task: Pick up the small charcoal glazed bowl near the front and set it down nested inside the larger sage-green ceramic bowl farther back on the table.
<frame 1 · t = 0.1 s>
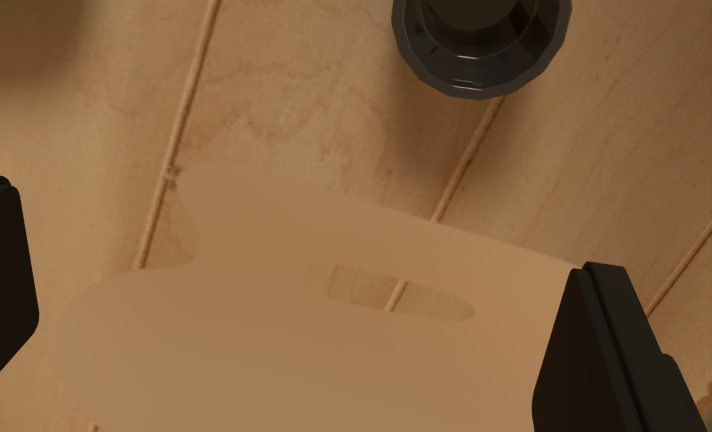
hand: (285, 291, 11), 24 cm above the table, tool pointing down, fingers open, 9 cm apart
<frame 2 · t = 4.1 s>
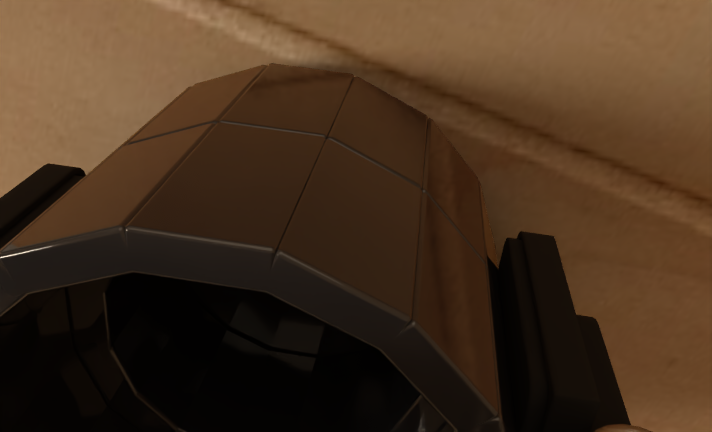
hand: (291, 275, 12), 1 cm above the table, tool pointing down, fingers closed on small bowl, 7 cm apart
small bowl: (304, 238, 13), on the table, touching gripper
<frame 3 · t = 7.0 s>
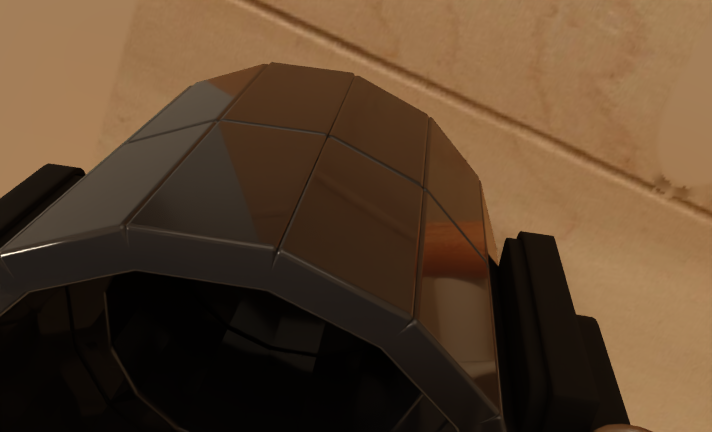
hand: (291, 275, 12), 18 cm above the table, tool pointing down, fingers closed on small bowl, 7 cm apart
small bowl: (305, 238, 13), point 17 cm above the table, touching gripper
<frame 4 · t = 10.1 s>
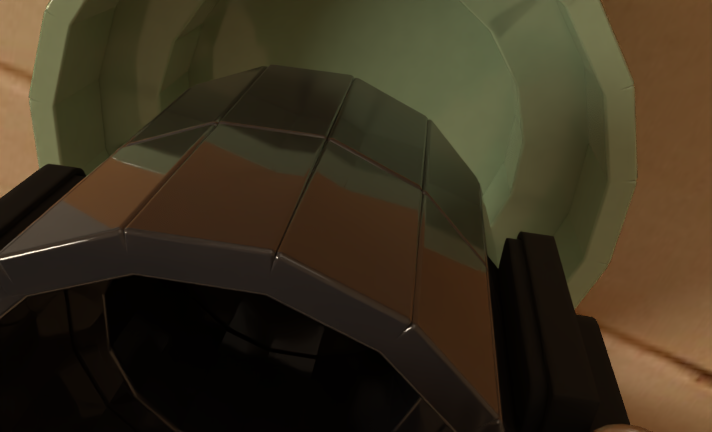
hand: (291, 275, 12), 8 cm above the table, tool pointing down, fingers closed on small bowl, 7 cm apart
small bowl: (304, 240, 13), point 7 cm above the table, touching gripper
big bowl: (350, 107, 19), on the table
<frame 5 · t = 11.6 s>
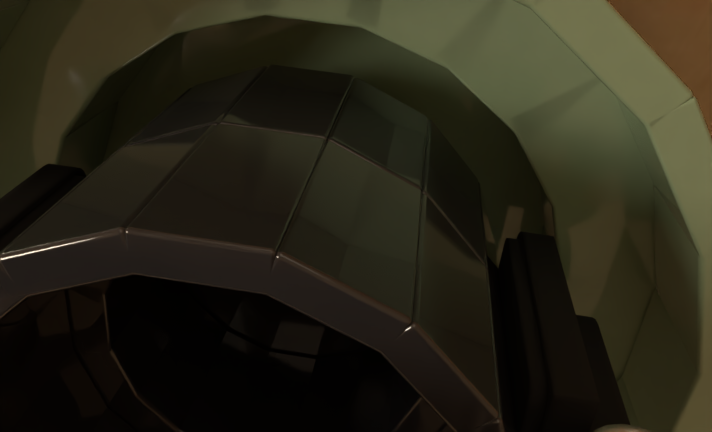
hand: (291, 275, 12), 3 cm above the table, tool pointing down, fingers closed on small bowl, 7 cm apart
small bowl: (305, 239, 13), point 2 cm above the table, touching gripper
big bowl: (321, 207, 14), on the table
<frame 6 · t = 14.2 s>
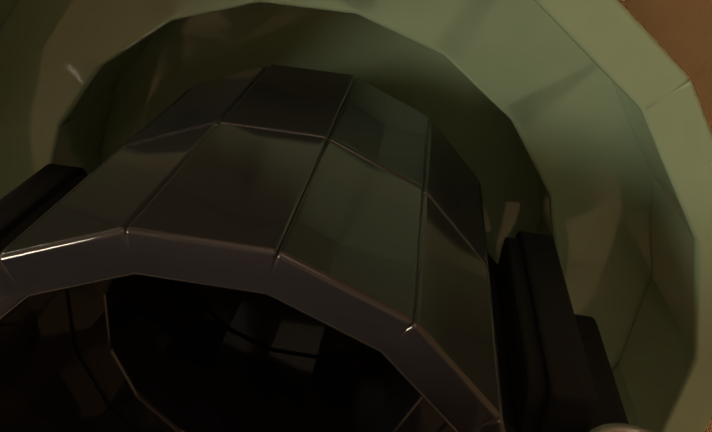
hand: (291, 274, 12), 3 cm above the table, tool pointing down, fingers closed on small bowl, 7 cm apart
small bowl: (305, 239, 13), point 2 cm above the table, touching gripper
big bowl: (319, 197, 14), on the table
when the fingers open (4 cm above the table, at t = 16.7 s): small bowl stays where it is, resting on big bowl.
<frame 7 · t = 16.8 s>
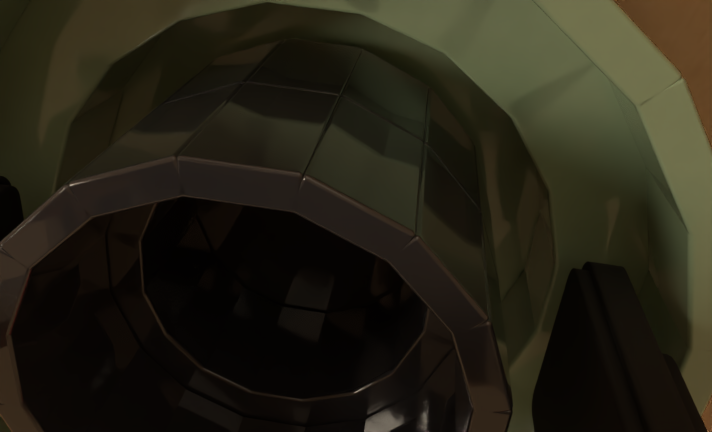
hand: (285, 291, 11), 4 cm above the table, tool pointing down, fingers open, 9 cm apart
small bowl: (316, 202, 14), point 1 cm above the table, touching big bowl
big bowl: (322, 194, 15), on the table
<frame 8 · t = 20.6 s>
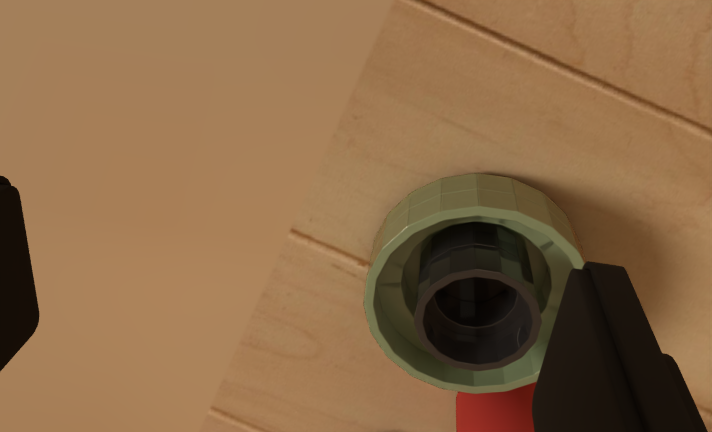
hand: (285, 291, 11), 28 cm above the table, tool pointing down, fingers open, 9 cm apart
beer can: (501, 395, 48), on the table
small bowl: (473, 266, 43), point 1 cm above the table, touching big bowl
big bowl: (473, 262, 43), on the table
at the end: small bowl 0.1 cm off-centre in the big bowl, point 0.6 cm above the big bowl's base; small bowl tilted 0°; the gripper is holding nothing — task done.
